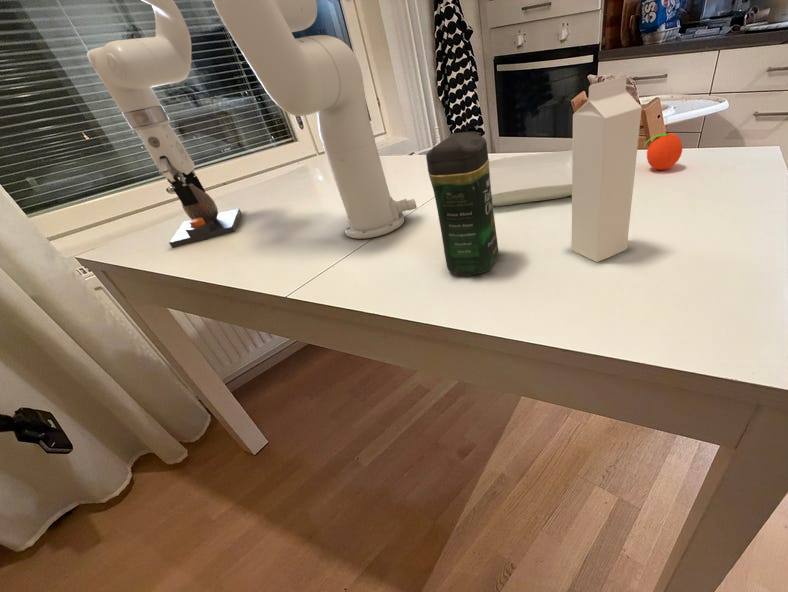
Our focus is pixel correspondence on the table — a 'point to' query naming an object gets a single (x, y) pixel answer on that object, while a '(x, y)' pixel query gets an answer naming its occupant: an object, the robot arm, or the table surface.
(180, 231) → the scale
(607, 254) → the milk
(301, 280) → the table surface
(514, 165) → the square plate
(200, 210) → the vase
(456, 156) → the coffee jar
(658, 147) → the tomato
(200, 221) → the orange angular block
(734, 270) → the table surface
